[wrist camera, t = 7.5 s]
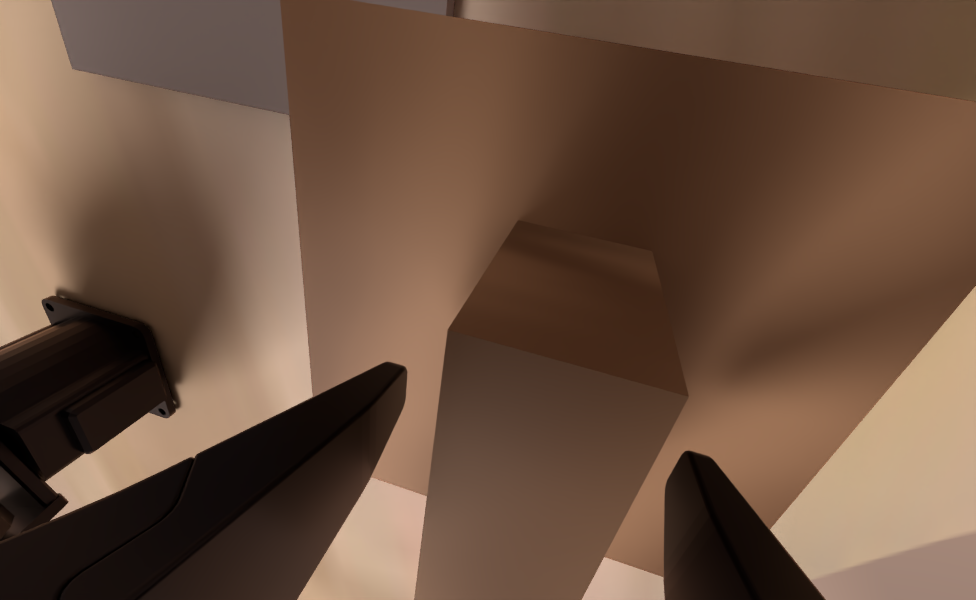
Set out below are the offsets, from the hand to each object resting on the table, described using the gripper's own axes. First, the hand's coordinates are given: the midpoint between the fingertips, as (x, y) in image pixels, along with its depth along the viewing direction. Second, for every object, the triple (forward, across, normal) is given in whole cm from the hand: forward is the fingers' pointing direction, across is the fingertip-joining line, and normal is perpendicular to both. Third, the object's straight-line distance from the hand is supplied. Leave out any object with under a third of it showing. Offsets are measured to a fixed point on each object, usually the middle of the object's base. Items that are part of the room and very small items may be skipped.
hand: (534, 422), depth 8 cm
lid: (+3, 0, 0) cm, 3 cm away
